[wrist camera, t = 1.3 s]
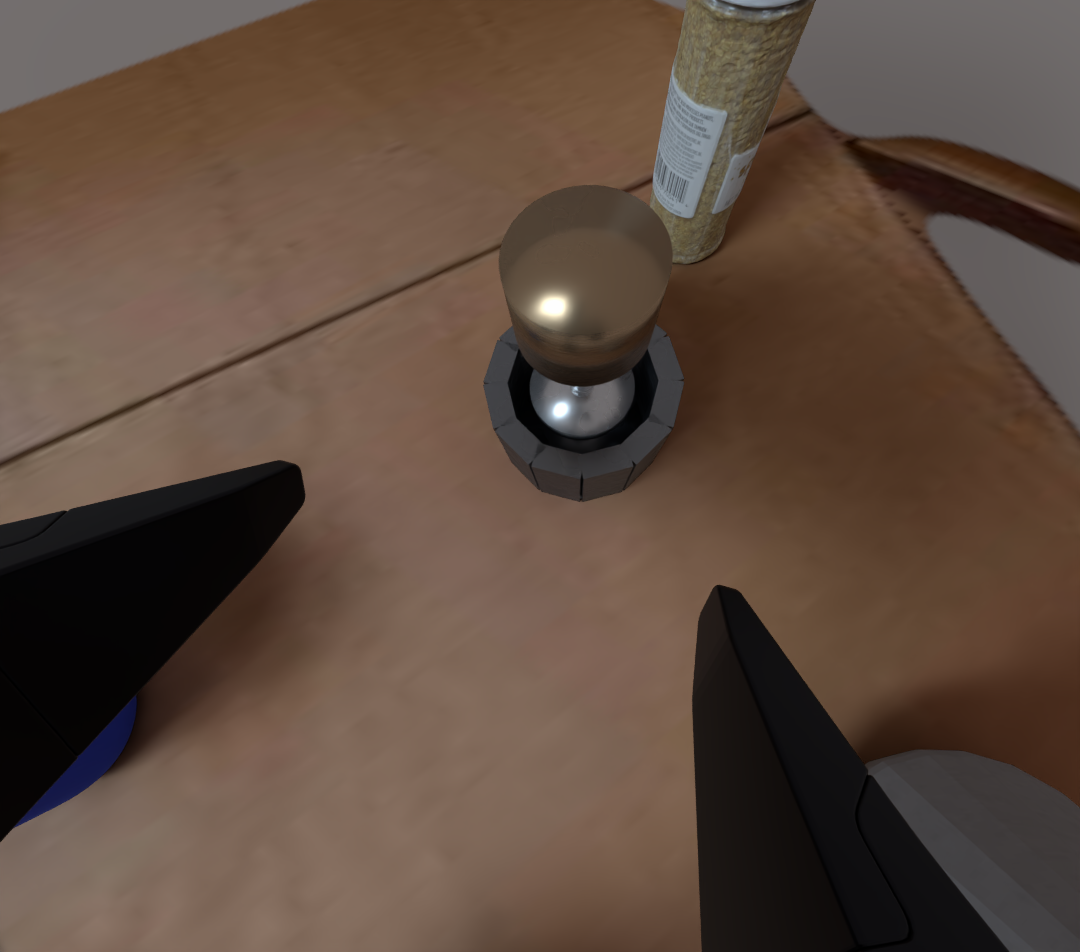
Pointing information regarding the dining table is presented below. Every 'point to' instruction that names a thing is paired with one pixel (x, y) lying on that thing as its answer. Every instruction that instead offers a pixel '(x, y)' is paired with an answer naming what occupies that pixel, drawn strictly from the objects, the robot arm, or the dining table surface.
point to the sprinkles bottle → (719, 112)
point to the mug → (89, 763)
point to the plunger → (584, 301)
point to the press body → (583, 462)
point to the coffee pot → (995, 841)
